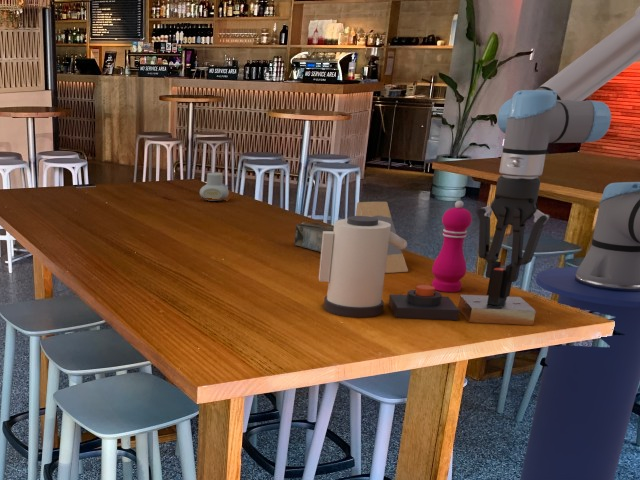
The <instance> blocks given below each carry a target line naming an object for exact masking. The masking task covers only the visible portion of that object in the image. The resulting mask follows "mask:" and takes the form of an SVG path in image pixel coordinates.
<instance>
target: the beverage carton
mask: <svg viewBox="0 0 640 480" xmlns="http://www.w3.org/2000/svg"><path fill="white" fill-rule="evenodd" d="M323 231H334V226H331V225H326V224H322V223H320V222H319V223H318V222H310V223H307V222H304V221H303V222H302V223H299V224H298V223H297V224H296V225H295V233H294V243H293V244H294V245H295V246H298V247H301V248H305V249H308V250H311V251H315V252H318V253H321V248H322V237H323Z"/></svg>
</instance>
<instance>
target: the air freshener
mask: <svg viewBox="0 0 640 480" xmlns="http://www.w3.org/2000/svg"><path fill="white" fill-rule="evenodd" d="M223 180H224V174H223V173H222V172H208V173H207V174H206V184H205V185H203V186H202V187H201V188H200V189H199V196H200V198H202V197H203V198H212V199H222V200H208V199H204V201H207V200H208V201H207V202H209V201H218V202H222V201H224V200H225V199H227V198H228V197H229V196H230V195H229V194H230V191H229V189H228V187H227V186H226V185H224V184H223V182H224V181H223ZM203 198H202V199H203ZM223 198H225V199H223Z"/></svg>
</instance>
